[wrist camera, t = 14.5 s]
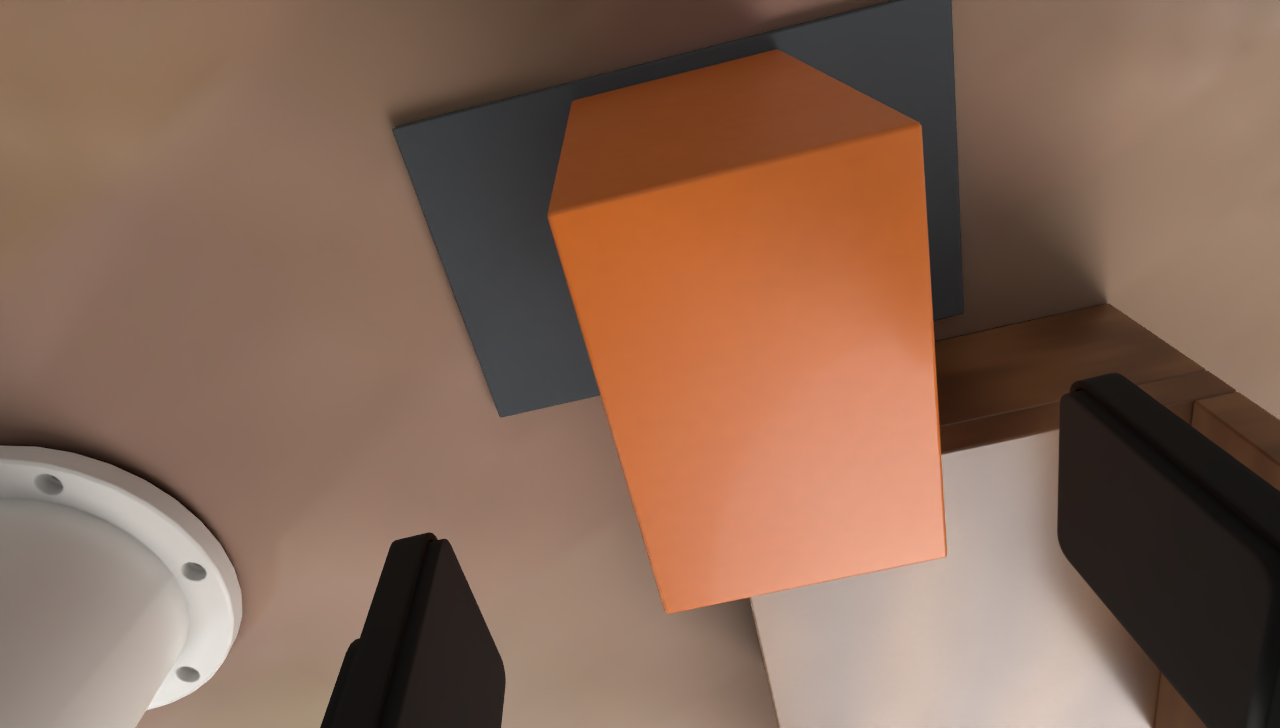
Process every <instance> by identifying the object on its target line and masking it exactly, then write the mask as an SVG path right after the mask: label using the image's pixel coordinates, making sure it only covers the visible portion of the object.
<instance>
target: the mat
mask: <svg viewBox="0 0 1280 728" xmlns="http://www.w3.org/2000/svg"><path fill="white" fill-rule="evenodd" d="M776 49H777V50H780V51H782V52H784V53H786V54H788V55H790V56H792V57H794V58H796V59H798V60H799V61H801V62H803V63H805V64H807V65H809V66H811V67H813V68H815V69H817V70H819V71H821V72H823V73H825V74H827V75H828V76H830V77H832V78H834V79H836V80H838V81H840V82H842V83H844V84H846V85H848V86H850V87H852V88H854V89H856V90H857V91H859V92H861V93H863V94H865V95H867V96H869V97H871V98H873V99H875V100H877V101H879V102H881V103H883V104H885V105H886V106H888V107H890V108H892V109H894V110H896V111H898V112H900V113H902V114H904V115H906V116H908V117H910V118H912V119H913V120H915V121H917V122H919V123H920V124H921V126H922V141H923V157H924V174H925V191H926V208H927V224H928V241H929V258H930V274H931V291H932V308H933V320H938V319H942V318H947V317H951V316H956V315H960V314H963V313H964V309H963V284H962V258H961V233H960V207H959V182H958V156H957V131H956V106H955V80H954V55H953V29H952V4H951V0H893V1H889V2H885V3H881V4H877V5H873V6H869V7H865V8H861V9H857V10H853V11H849V12H845V13H841V14H837V15H833V16H829V17H826V18H822V19H818V20H814V21H810V22H806V23H802V24H798V25H794V26H790V27H786V28H782V29H778V30H774V31H770V32H766V33H762V34H758V35H755V36H751V37H747V38H743V39H739V40H735V41H731V42H727V43H723V44H719V45H715V46H711V47H707V48H703V49H699V50H695V51H691V52H687V53H684V54H680V55H676V56H672V57H668V58H664V59H660V60H656V61H652V62H648V63H644V64H640V65H636V66H632V67H628V68H624V69H620V70H616V71H613V72H609V73H605V74H601V75H597V76H593V77H589V78H585V79H581V80H577V81H573V82H569V83H565V84H561V85H557V86H553V87H549V88H545V89H541V90H538V91H534V92H530V93H526V94H522V95H518V96H514V97H510V98H506V99H502V100H498V101H494V102H490V103H486V104H482V105H478V106H474V107H470V108H467V109H463V110H459V111H455V112H451V113H447V114H443V115H439V116H435V117H431V118H427V119H423V120H419V121H415V122H411V123H407V124H403V125H399V126H396V127H395V128H393V133H394V136H395V138H396V141H397V144H398V146H399V149H400V152H401V154H402V157H403V160H404V162H405V165H406V168H407V170H408V173H409V176H410V178H411V181H412V184H413V186H414V189H415V192H416V194H417V197H418V200H419V202H420V205H421V208H422V210H423V213H424V216H425V218H426V221H427V224H428V227H429V229H430V232H431V235H432V237H433V240H434V243H435V245H436V248H437V251H438V253H439V256H440V259H441V261H442V264H443V267H444V269H445V272H446V275H447V277H448V280H449V283H450V285H451V288H452V291H453V293H454V296H455V299H456V301H457V304H458V307H459V309H460V312H461V315H462V317H463V320H464V323H465V325H466V328H467V331H468V333H469V336H470V339H471V341H472V344H473V347H474V349H475V352H476V355H477V357H478V360H479V363H480V365H481V368H482V371H483V373H484V376H485V379H486V381H487V384H488V387H489V389H490V392H491V395H492V397H493V400H494V403H495V405H496V408H497V411H498V413H499V416H500V417H505V416H510V415H514V414H519V413H523V412H528V411H532V410H537V409H541V408H545V407H550V406H554V405H559V404H563V403H568V402H572V401H577V400H581V399H586V398H590V397H594V396H599V395H600V392H599V389H598V386H597V382H596V379H595V376H594V372H593V369H592V366H591V362H590V359H589V356H588V352H587V349H586V345H585V342H584V339H583V335H582V332H581V329H580V325H579V322H578V319H577V315H576V312H575V309H574V305H573V302H572V298H571V295H570V292H569V288H568V285H567V282H566V278H565V275H564V272H563V268H562V265H561V262H560V258H559V255H558V251H557V248H556V245H555V241H554V238H553V235H552V231H551V228H550V225H549V221H548V218H547V215H548V209H549V205H550V200H551V195H552V191H553V186H554V182H555V177H556V172H557V168H558V163H559V159H560V154H561V149H562V145H563V140H564V136H565V131H566V126H567V122H568V117H569V113H570V108H571V103H572V101H574V100H577V99H581V98H585V97H589V96H593V95H597V94H601V93H605V92H609V91H613V90H617V89H621V88H625V87H629V86H633V85H637V84H641V83H645V82H649V81H653V80H657V79H661V78H665V77H669V76H673V75H677V74H680V73H684V72H688V71H692V70H696V69H700V68H704V67H708V66H712V65H716V64H720V63H724V62H728V61H732V60H736V59H740V58H744V57H748V56H752V55H756V54H760V53H764V52H768V51H772V50H776Z"/></svg>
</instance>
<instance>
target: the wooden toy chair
mask: <svg viewBox="0 0 1280 728" xmlns="http://www.w3.org/2000/svg"><path fill="white" fill-rule="evenodd" d="M935 358H936V375H937V391H938V408H939V425H940V441H941V458H942V475H943V491H944V508H945V525H946V542H947V556H946V557H945V558H941V559H936V560H931V561H926V562H921V563H916V564H911V565H906V566H901V567H897V568H892V569H887V570H882V571H877V572H872V573H867V574H862V575H857V576H852V577H847V578H842V579H837V580H833V581H828V582H823V583H818V584H813V585H808V586H803V587H798V588H793V589H788V590H783V591H778V592H773V593H769V594H764V595H759V596H754V597H749V600H750V604H751V609H752V613H753V618H754V622H755V627H756V631H757V635H758V640H759V644H760V650H761V655H762V659H763V663H764V668H765V672H766V677H767V681H768V685H769V690H770V694H771V699H772V703H773V707H774V712H775V716H776V721H777V725H778V728H1207V727H1206V725H1205V724H1204V723H1203V722H1202V721H1201V719H1200V718H1199V717H1198V716H1197V715H1196V713H1195V712H1194V711H1193V710H1192V709H1191V707H1190V706H1189V705H1188V704H1187V703H1186V701H1185V700H1184V699H1183V698H1182V697H1181V695H1180V694H1179V693H1178V692H1177V691H1176V689H1175V688H1174V687H1173V686H1172V685H1171V683H1170V682H1169V681H1168V680H1167V679H1166V677H1165V676H1164V675H1163V674H1162V673H1161V671H1160V670H1159V669H1158V668H1157V667H1156V665H1155V664H1154V663H1153V662H1152V661H1151V659H1150V658H1149V657H1148V656H1147V655H1146V653H1145V652H1144V651H1143V650H1142V649H1141V647H1140V646H1139V645H1138V644H1137V643H1136V641H1135V640H1134V639H1133V638H1132V637H1131V635H1130V634H1129V633H1128V632H1127V631H1126V629H1125V628H1124V627H1123V626H1122V625H1121V623H1120V622H1119V621H1118V620H1117V619H1116V617H1115V616H1114V615H1113V614H1112V613H1111V611H1110V610H1109V609H1108V608H1107V607H1106V605H1105V604H1104V603H1103V602H1102V601H1101V599H1100V598H1099V597H1098V596H1097V595H1096V593H1095V592H1094V591H1093V590H1092V589H1091V587H1090V586H1089V585H1088V584H1087V583H1086V581H1085V580H1084V579H1083V578H1082V577H1081V575H1080V574H1079V573H1078V572H1077V571H1076V569H1075V568H1074V567H1073V566H1072V565H1071V563H1070V562H1069V561H1068V560H1067V558H1066V557H1065V555H1064V554H1063V552H1062V550H1061V547H1060V545H1059V541H1058V536H1057V517H1058V468H1059V419H1060V399H1061V397H1062V396H1063V395H1064V394H1067V393H1069V392H1070V387H1071V385H1072V384H1073V383H1074V382H1076V381H1079V380H1083V379H1087V378H1092V377H1096V376H1100V375H1105V374H1109V373H1119V374H1121V375H1123V376H1124V377H1126V378H1127V379H1128V380H1130V381H1131V382H1132V383H1134V384H1135V385H1136V386H1138V387H1139V388H1141V389H1142V390H1143V391H1145V392H1146V393H1147V394H1149V395H1150V396H1151V397H1153V398H1154V399H1155V400H1157V401H1158V402H1159V403H1161V404H1162V405H1164V406H1165V407H1166V408H1168V409H1169V410H1170V411H1172V412H1173V413H1174V414H1176V415H1177V416H1178V417H1180V418H1181V419H1183V420H1184V421H1185V422H1187V423H1188V424H1189V425H1191V426H1192V427H1193V428H1195V429H1196V430H1197V431H1199V432H1200V433H1201V434H1203V435H1204V436H1206V437H1207V438H1208V439H1210V440H1211V441H1212V442H1214V443H1215V444H1216V445H1218V446H1219V447H1220V448H1222V449H1223V450H1224V451H1226V452H1227V453H1229V454H1230V455H1231V456H1233V457H1234V458H1235V459H1237V460H1238V461H1239V462H1241V463H1242V464H1243V465H1245V466H1246V467H1247V468H1249V469H1250V470H1252V471H1253V472H1254V473H1256V474H1257V475H1258V476H1260V477H1261V478H1262V479H1264V480H1265V481H1266V482H1268V483H1269V484H1270V485H1272V486H1273V487H1275V488H1276V489H1277V490H1279V491H1280V420H1279V419H1277V418H1276V417H1274V416H1273V415H1271V414H1270V413H1269V412H1267V411H1266V410H1264V409H1263V408H1261V407H1260V406H1258V405H1257V404H1255V403H1254V402H1252V401H1251V400H1249V399H1248V398H1247V397H1245V396H1244V395H1242V394H1241V393H1239V392H1236V390H1235V389H1234V388H1232V387H1231V386H1229V385H1228V384H1226V383H1225V382H1223V381H1222V380H1220V379H1219V378H1218V377H1216V376H1215V375H1213V374H1212V373H1210V372H1209V371H1206V370H1205V369H1204V368H1203V367H1201V366H1200V365H1199V364H1197V363H1196V362H1194V361H1193V360H1191V359H1190V358H1188V357H1187V356H1185V355H1184V354H1182V353H1181V352H1179V351H1178V350H1176V349H1175V348H1174V347H1172V346H1171V345H1169V344H1168V343H1166V342H1165V341H1163V340H1162V339H1160V338H1159V337H1157V336H1156V335H1154V334H1153V333H1152V332H1150V331H1149V330H1147V329H1146V328H1144V327H1143V326H1141V325H1140V324H1138V323H1137V322H1135V321H1134V320H1132V319H1131V318H1129V317H1128V316H1127V315H1125V314H1124V313H1122V312H1121V311H1119V310H1118V309H1116V308H1115V307H1113V306H1112V305H1110V304H1104V305H1099V306H1095V307H1090V308H1086V309H1081V310H1077V311H1072V312H1068V313H1063V314H1059V315H1054V316H1050V317H1045V318H1041V319H1036V320H1032V321H1027V322H1023V323H1018V324H1014V325H1009V326H1005V327H1000V328H996V329H991V330H987V331H982V332H978V333H973V334H969V335H964V336H960V337H955V338H951V339H946V340H942V341H937V342H935Z"/></svg>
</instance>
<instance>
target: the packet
mask: <svg viewBox="0 0 1280 728" xmlns="http://www.w3.org/2000/svg"><path fill="white" fill-rule="evenodd" d="M547 218H548V221H549V225H550V228H551V231H552V235H553V238H554V241H555V245H556V248H557V251H558V255H559V258H560V262H561V265H562V268H563V272H564V275H565V278H566V282H567V285H568V288H569V292H570V295H571V298H572V302H573V305H574V309H575V312H576V315H577V319H578V322H579V325H580V329H581V332H582V335H583V339H584V342H585V345H586V349H587V352H588V356H589V359H590V362H591V366H592V369H593V372H594V376H595V379H596V382H597V386H598V389H599V392H600V396H601V399H602V403H603V406H604V409H605V413H606V416H607V419H608V423H609V426H610V429H611V433H612V436H613V439H614V443H615V446H616V450H617V453H618V456H619V460H620V463H621V466H622V470H623V473H624V476H625V480H626V483H627V487H628V490H629V493H630V497H631V500H632V503H633V507H634V510H635V513H636V517H637V520H638V523H639V527H640V530H641V534H642V537H643V540H644V544H645V547H646V550H647V554H648V557H649V560H650V564H651V567H652V570H653V574H654V577H655V581H656V584H657V587H658V591H659V594H660V597H661V601H662V604H663V607H664V610H665V612H666V613H669V614H670V613H675V612H680V611H685V610H690V609H695V608H700V607H705V606H709V605H714V604H719V603H724V602H729V601H734V600H739V599H744V598H749V597H754V596H759V595H764V594H769V593H773V592H778V591H783V590H788V589H793V588H798V587H803V586H808V585H813V584H818V583H823V582H828V581H833V580H837V579H842V578H847V577H852V576H857V575H862V574H867V573H872V572H877V571H882V570H887V569H892V568H897V567H901V566H906V565H911V564H916V563H921V562H926V561H931V560H936V559H941V558H945V557H946V556H947V542H946V525H945V508H944V491H943V475H942V458H941V441H940V425H939V408H938V391H937V375H936V358H935V341H934V324H933V308H932V291H931V274H930V258H929V241H928V224H927V208H926V191H925V174H924V157H923V141H922V126H921V124H920V123H919V122H917V121H915V120H913V119H912V118H910V117H908V116H906V115H904V114H902V113H900V112H898V111H896V110H894V109H892V108H890V107H888V106H886V105H885V104H883V103H881V102H879V101H877V100H875V99H873V98H871V97H869V96H867V95H865V94H863V93H861V92H859V91H857V90H856V89H854V88H852V87H850V86H848V85H846V84H844V83H842V82H840V81H838V80H836V79H834V78H832V77H830V76H828V75H827V74H825V73H823V72H821V71H819V70H817V69H815V68H813V67H811V66H809V65H807V64H805V63H803V62H801V61H799V60H798V59H796V58H794V57H792V56H790V55H788V54H786V53H784V52H782V51H780V50H777V49H776V50H772V51H768V52H764V53H760V54H756V55H752V56H748V57H744V58H740V59H736V60H732V61H728V62H724V63H720V64H716V65H712V66H708V67H704V68H700V69H696V70H692V71H688V72H684V73H680V74H677V75H673V76H669V77H665V78H661V79H657V80H653V81H649V82H645V83H641V84H637V85H633V86H629V87H625V88H621V89H617V90H613V91H609V92H605V93H601V94H597V95H593V96H589V97H585V98H581V99H577V100H574V101H572V103H571V108H570V113H569V117H568V122H567V126H566V131H565V136H564V140H563V145H562V149H561V154H560V159H559V163H558V168H557V172H556V177H555V182H554V186H553V191H552V195H551V200H550V205H549V209H548V215H547Z"/></svg>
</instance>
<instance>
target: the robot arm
mask: <svg viewBox="0 0 1280 728" xmlns="http://www.w3.org/2000/svg"><path fill="white" fill-rule="evenodd" d="M1057 536H1058V541H1059V545H1060V547H1061V550H1062V552H1063V554H1064V555H1065V557H1066V558H1067V560H1068V561H1069V562H1070V563H1071V565H1072V566H1073V567H1074V568H1075V569H1076V571H1077V572H1078V573H1079V574H1080V575H1081V577H1082V578H1083V579H1084V580H1085V581H1086V583H1087V584H1088V585H1089V586H1090V587H1091V589H1092V590H1093V591H1094V592H1095V593H1096V595H1097V596H1098V597H1099V598H1100V599H1101V601H1102V602H1103V603H1104V604H1105V605H1106V607H1107V608H1108V609H1109V610H1110V611H1111V613H1112V614H1113V615H1114V616H1115V617H1116V619H1117V620H1118V621H1119V622H1120V623H1121V625H1122V626H1123V627H1124V628H1125V629H1126V631H1127V632H1128V633H1129V634H1130V635H1131V637H1132V638H1133V639H1134V640H1135V641H1136V643H1137V644H1138V645H1139V646H1140V647H1141V649H1142V650H1143V651H1144V652H1145V653H1146V655H1147V656H1148V657H1149V658H1150V659H1151V661H1152V662H1153V663H1154V664H1155V665H1156V667H1157V668H1158V669H1159V670H1160V671H1161V673H1162V674H1163V675H1164V676H1165V677H1166V679H1167V680H1168V681H1169V682H1170V683H1171V685H1172V686H1173V687H1174V688H1175V689H1176V691H1177V692H1178V693H1179V694H1180V695H1181V697H1182V698H1183V699H1184V700H1185V701H1186V703H1187V704H1188V705H1189V706H1190V707H1191V709H1192V710H1193V711H1194V712H1195V713H1196V715H1197V716H1198V717H1199V718H1200V719H1201V721H1202V722H1203V723H1204V724H1205V725H1206V727H1207V728H1280V491H1279V490H1277V489H1276V488H1275V487H1273V486H1272V485H1270V484H1269V483H1268V482H1266V481H1265V480H1264V479H1262V478H1261V477H1260V476H1258V475H1257V474H1256V473H1254V472H1253V471H1252V470H1250V469H1249V468H1247V467H1246V466H1245V465H1243V464H1242V463H1241V462H1239V461H1238V460H1237V459H1235V458H1234V457H1233V456H1231V455H1230V454H1229V453H1227V452H1226V451H1224V450H1223V449H1222V448H1220V447H1219V446H1218V445H1216V444H1215V443H1214V442H1212V441H1211V440H1210V439H1208V438H1207V437H1206V436H1204V435H1203V434H1201V433H1200V432H1199V431H1197V430H1196V429H1195V428H1193V427H1192V426H1191V425H1189V424H1188V423H1187V422H1185V421H1184V420H1183V419H1181V418H1180V417H1178V416H1177V415H1176V414H1174V413H1173V412H1172V411H1170V410H1169V409H1168V408H1166V407H1165V406H1164V405H1162V404H1161V403H1159V402H1158V401H1157V400H1155V399H1154V398H1153V397H1151V396H1150V395H1149V394H1147V393H1146V392H1145V391H1143V390H1142V389H1141V388H1139V387H1138V386H1136V385H1135V384H1134V383H1132V382H1131V381H1130V380H1128V379H1127V378H1126V377H1124V376H1123V375H1121V374H1119V373H1109V374H1105V375H1100V376H1096V377H1092V378H1087V379H1083V380H1079V381H1076V382H1074V383H1073V384H1072V385H1071V387H1070V392H1069V393H1067V394H1064V395H1063V396H1062V397H1061V399H1060V419H1059V468H1058V517H1057ZM241 619H242V592H241V589H240V586H239V582H238V579H237V576H236V572H235V569H234V567H233V565H232V564H231V562H230V560H229V558H228V556H227V555H226V553H225V551H224V549H223V548H222V546H221V544H220V543H219V542H218V541H217V539H216V538H215V537H214V536H213V535H212V534H211V532H210V531H209V530H208V529H207V528H206V526H205V525H204V524H203V523H202V522H201V521H200V520H199V519H198V518H197V517H196V516H194V515H193V514H192V513H191V512H190V511H189V510H187V509H186V508H185V507H184V506H183V505H182V504H180V503H179V502H178V501H177V500H176V499H174V498H173V497H171V496H170V495H168V494H166V493H165V492H163V491H162V490H160V489H159V488H157V487H155V486H154V485H152V484H151V483H149V482H148V481H146V480H144V479H142V478H140V477H138V476H135V475H133V474H131V473H129V472H127V471H124V470H122V469H120V468H118V467H116V466H114V465H111V464H109V463H105V462H102V461H99V460H96V459H92V458H89V457H86V456H83V455H79V454H76V453H72V452H66V451H60V450H54V449H48V448H42V447H36V446H0V728H135V727H136V726H137V724H138V722H139V721H140V719H141V718H142V716H143V714H144V713H145V711H146V710H149V709H152V708H156V707H159V706H163V705H166V704H170V703H172V702H174V701H176V700H178V699H180V698H182V697H184V696H186V695H188V694H191V693H193V692H194V691H195V690H196V689H198V688H199V687H200V686H202V685H203V684H204V683H205V682H207V681H208V680H209V679H210V678H211V677H212V676H213V675H214V674H215V672H216V671H217V670H218V668H219V667H220V666H221V664H222V663H223V662H224V660H225V658H226V657H227V655H228V653H229V651H230V649H231V647H232V645H233V643H234V641H235V639H236V637H237V635H238V631H239V627H240V623H241ZM504 694H505V670H504V665H503V662H502V659H501V656H500V654H499V652H498V650H497V647H496V645H495V643H494V641H493V638H492V636H491V634H490V632H489V629H488V627H487V625H486V623H485V621H484V618H483V616H482V614H481V612H480V609H479V607H478V605H477V603H476V600H475V598H474V596H473V594H472V591H471V589H470V587H469V585H468V582H467V580H466V578H465V576H464V573H463V571H462V569H461V567H460V564H459V562H458V560H457V558H456V555H455V553H454V551H453V549H452V546H451V544H450V543H449V541H448V540H447V539H441V540H437V538H436V536H435V535H434V534H433V533H425V534H421V535H416V536H412V537H408V538H403V539H399V540H395V541H394V542H393V543H392V544H391V546H390V549H389V552H388V555H387V558H386V561H385V564H384V567H383V570H382V573H381V576H380V579H379V582H378V585H377V588H376V591H375V594H374V597H373V600H372V603H371V606H370V609H369V612H368V615H367V618H366V622H365V625H364V628H363V631H362V634H361V637H360V638H359V639H356V640H355V641H354V642H352V643H351V644H350V646H349V648H348V650H347V652H346V655H345V658H344V661H343V663H342V666H341V669H340V672H339V675H338V678H337V681H336V684H335V687H334V690H333V692H332V695H331V698H330V701H329V704H328V707H327V710H326V713H325V716H324V719H323V721H322V724H321V727H320V728H501V722H502V713H503V703H504Z"/></svg>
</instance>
